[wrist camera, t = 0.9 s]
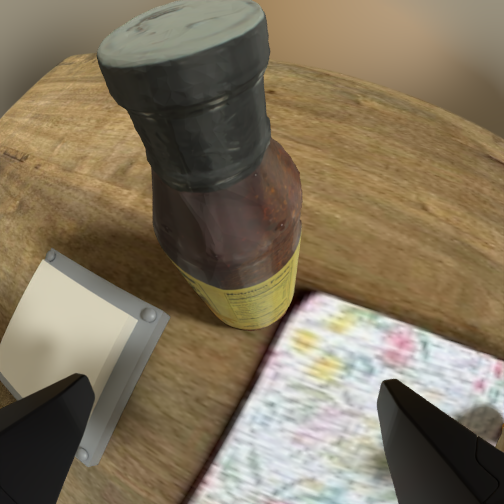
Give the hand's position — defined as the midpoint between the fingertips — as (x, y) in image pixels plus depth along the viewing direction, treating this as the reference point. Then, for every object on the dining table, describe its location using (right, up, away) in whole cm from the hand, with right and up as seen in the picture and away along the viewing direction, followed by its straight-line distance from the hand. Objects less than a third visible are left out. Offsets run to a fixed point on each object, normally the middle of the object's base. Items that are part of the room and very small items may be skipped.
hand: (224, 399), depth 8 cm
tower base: (-15, -4, +14) cm, 21 cm away
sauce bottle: (+1, +1, +15) cm, 15 cm away
